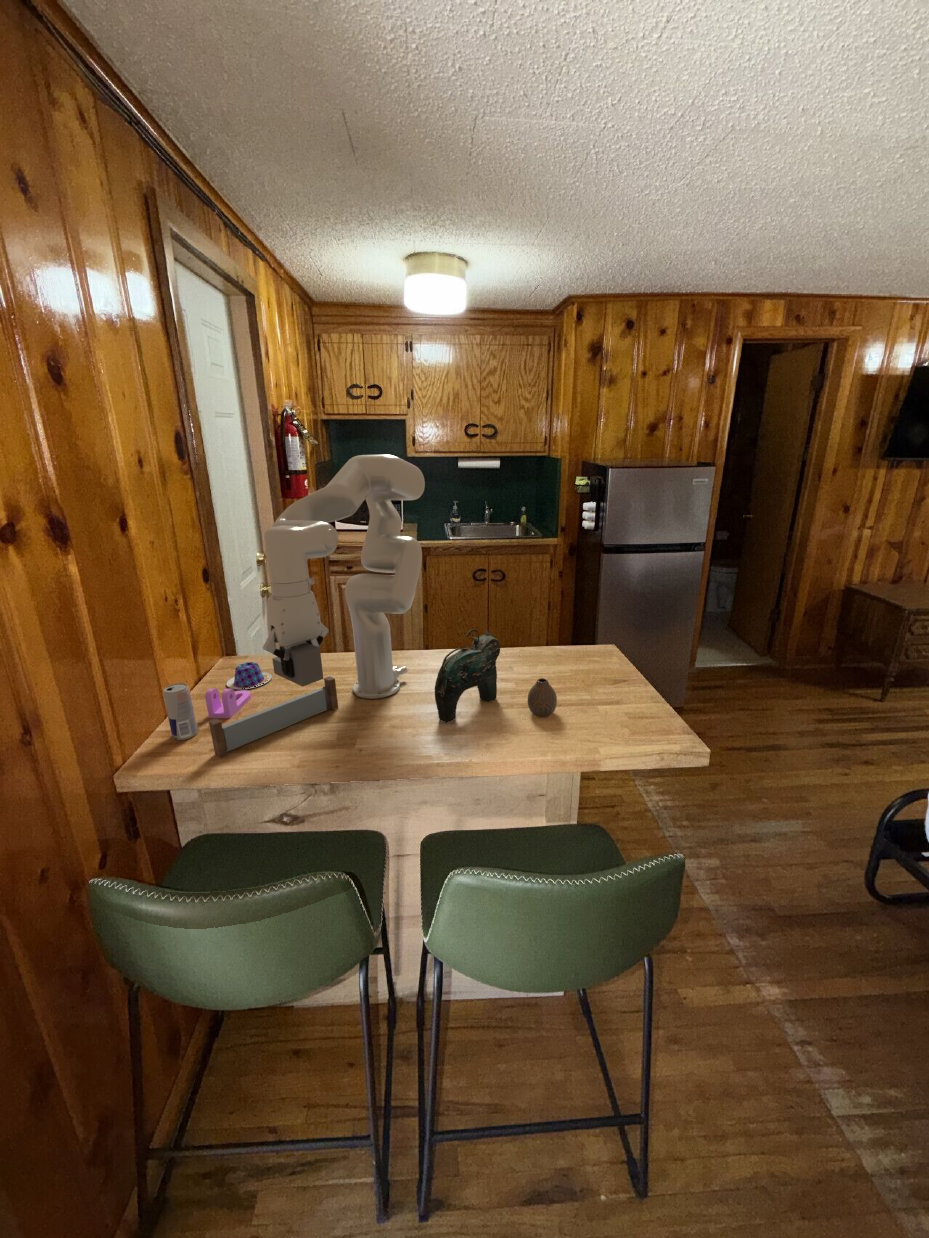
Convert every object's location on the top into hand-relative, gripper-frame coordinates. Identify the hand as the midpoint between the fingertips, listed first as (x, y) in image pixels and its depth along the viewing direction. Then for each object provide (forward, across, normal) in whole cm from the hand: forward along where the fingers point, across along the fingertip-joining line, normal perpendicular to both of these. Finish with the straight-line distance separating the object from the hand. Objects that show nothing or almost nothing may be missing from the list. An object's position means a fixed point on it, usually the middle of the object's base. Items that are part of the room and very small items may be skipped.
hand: (301, 670), depth 114 cm
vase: (+17, -43, +32) cm, 57 cm away
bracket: (+18, +2, -32) cm, 37 cm away
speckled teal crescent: (+18, -35, +17) cm, 42 cm away
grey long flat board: (+17, 0, -11) cm, 21 cm away
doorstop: (+2, 0, -2) cm, 2 cm away
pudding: (+18, -8, -43) cm, 47 cm away
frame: (+17, 0, -11) cm, 21 cm away
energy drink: (+18, +16, -27) cm, 36 cm away
